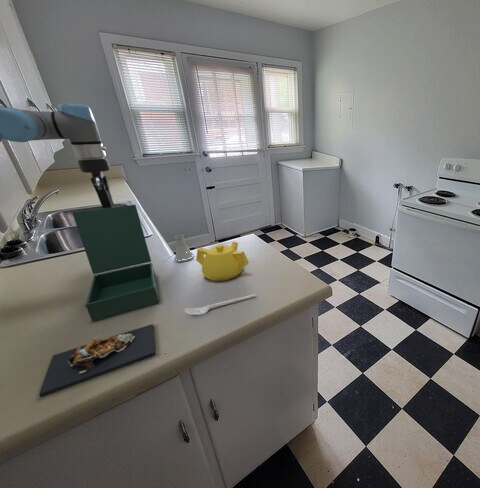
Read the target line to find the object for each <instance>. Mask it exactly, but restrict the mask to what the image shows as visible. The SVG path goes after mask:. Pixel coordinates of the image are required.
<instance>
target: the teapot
mask: <svg viewBox="0 0 480 488" xmlns="http://www.w3.org/2000/svg"><path fill="white" fill-rule="evenodd" d="M230 245H231V246H230ZM230 245H224V244H220V243H219V244H217V245H215V246H214V247H212V248H210V249H208V248H204V247H199V248H198V249H196V259H195V261H196V262H197V263H198V264H200V265H201V273H202V275H203V276H204V277H205V278H207V279H209V280H210V281H214V282H223V281H228V280H232V279H234V278H235V277H237V276H239V275H240V274H241V272H242V271H243V270H244V268H245V267H247V265H248V264H249V260H248V258H247V255H246V253H245V251H244V250H240V251H238V246H239V243H238V242H236V241H232V242H231V244H230Z"/></svg>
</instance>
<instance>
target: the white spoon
mask: <svg viewBox="0 0 480 488" xmlns="http://www.w3.org/2000/svg"><path fill="white" fill-rule="evenodd" d="M254 297H256V294H253V293H252V294H249V295H246V296H241V297H236V298H232V299H229V300H228V299H227V300H225V301H221V302H215V303H212V304H207V305H205V306H202V307H196V308H188V307H187V308H186V307H185V308H183V309H184V313H185V314H187V315H191V316H202V315H205V314H207V313H208V312H209V310H210V309H214V308H217V307H220V306H224V305H225V306H226V305H228V304H232V303H236V302H239V301H244V300H247V299H251V298H254Z"/></svg>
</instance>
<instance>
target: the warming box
mask: <svg viewBox="0 0 480 488" xmlns="http://www.w3.org/2000/svg"><path fill="white" fill-rule="evenodd" d="M159 303H160V298H159V291H158V282H157V276H156V273H155V269H154V266H153V263H152V262H148V263H143V264H138V265H134V266H129V267H125V268H120V269H115V270H111V271H106V272H101V273H97V274H93V278H92V281H91V284H90V288H89V291H88V294H87V298H86V301H85V307H86V310H87V312H88V315H89V317H90V319H91V321H92V322H96V321H101V320H103V319H106V318H111V317H114V316H117V315H121V314H124V313H128V312H131V311H135V310H138V309H142V308H146V307H150V306H152V305H156V304H159Z"/></svg>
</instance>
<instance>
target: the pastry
mask: <svg viewBox="0 0 480 488" xmlns="http://www.w3.org/2000/svg"><path fill="white" fill-rule="evenodd" d="M118 335H119V334H118ZM113 336H114V337H113ZM113 336H109V337H106V338H103V339H100V337H99V336H97V335H96V336H95V337H94V338H92V339H91V340H90V341H89V342H88V343H87V344H88V345H87V344H86V345H87V346H85V347H84V348H83V349H81V348H80V347H81V346H78V347H79V348H78V347H75V348H76V349H75V348H74V349H75V354H74V355H72V356H70V357H69V358H68V363H69V364H70V366H74V365H80V366H87V368H86V369H84V370H82V371H80V372H79V374H80V375H82V374H85V373H87V371H90V370H93V369H94V368H95V365H94V364H93V363H92V362H93V360H94V359H95V358H102V357H105V356H107V355H108V354H109V353H111V352H113V351H116V352H120V351H122V350H124V348H125V347H126V346H127V345H128V344H130V343H131V342H132V340H133V339H134V337H135V336H133V335H132V334H123V335H119V336H118V337H117V336H116V335H113ZM111 337H112V338H111Z"/></svg>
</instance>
